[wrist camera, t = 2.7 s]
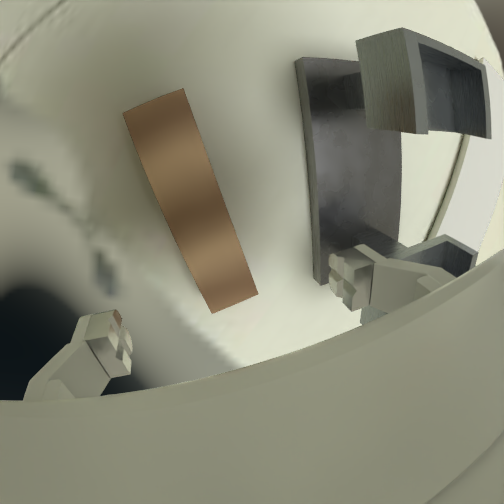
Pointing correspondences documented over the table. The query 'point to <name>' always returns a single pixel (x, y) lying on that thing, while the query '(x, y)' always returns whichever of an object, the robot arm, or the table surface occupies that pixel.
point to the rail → (190, 198)
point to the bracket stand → (382, 142)
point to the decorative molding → (475, 177)
